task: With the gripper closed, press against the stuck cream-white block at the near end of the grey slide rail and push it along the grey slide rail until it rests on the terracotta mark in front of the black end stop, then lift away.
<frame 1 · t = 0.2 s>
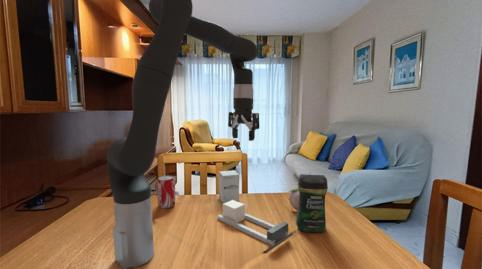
hand: (243, 139, 98), 28 cm above the table, tool pointing down, fingers open, 8 cm apart
decorative fruit: (301, 212, 99), on the table
coffee jar: (310, 228, 86), on the table
jammed block: (233, 211, 90), point 4 cm above the table, slide at 0.0 cm
soda can: (166, 206, 105), on the table
supplement box: (229, 201, 110), on the table
grey slide rail: (250, 229, 85), on the table
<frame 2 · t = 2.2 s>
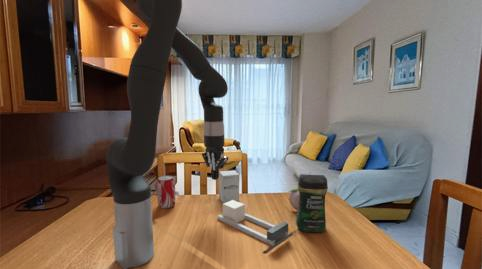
hand: (215, 179, 96), 14 cm above the table, tool pointing down, fingers closed
nothing on the table moved.
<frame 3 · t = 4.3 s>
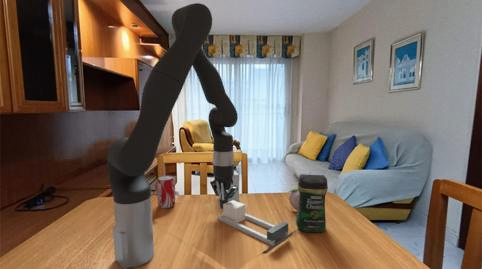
hand: (223, 208, 94), 4 cm above the table, tool pointing down, fingers closed
jammed block: (234, 211, 90), point 4 cm above the table, slide at 0.2 cm, touching gripper
everything else where it was.
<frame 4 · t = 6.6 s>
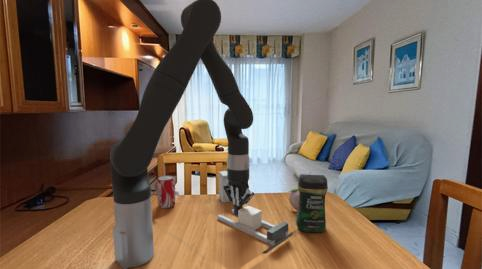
hand: (238, 214, 89), 4 cm above the table, tool pointing down, fingers closed
jammed block: (249, 218, 85), point 4 cm above the table, slide at 7.6 cm, touching gripper
everything else where it was.
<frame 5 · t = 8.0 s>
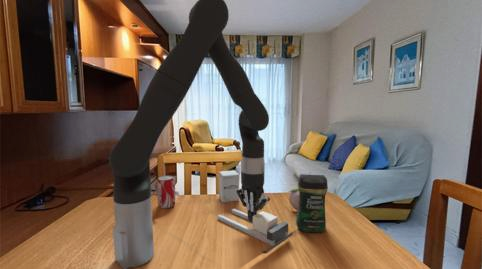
hand: (252, 220, 84), 4 cm above the table, tool pointing down, fingers closed
jammed block: (265, 224, 81), point 4 cm above the table, slide at 14.1 cm, touching gripper
everything else where it was.
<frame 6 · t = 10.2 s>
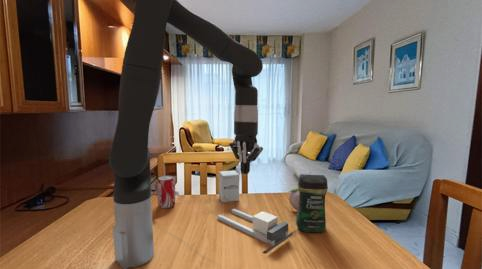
hand: (245, 173, 82), 20 cm above the table, tool pointing down, fingers closed
jammed block: (265, 224, 81), point 4 cm above the table, slide at 14.0 cm
everything else where it was.
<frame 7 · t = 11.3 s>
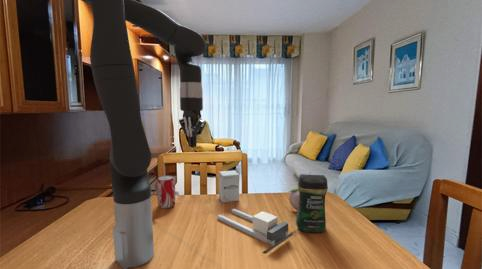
hand: (192, 147, 88), 27 cm above the table, tool pointing down, fingers closed
nothing on the table moved.
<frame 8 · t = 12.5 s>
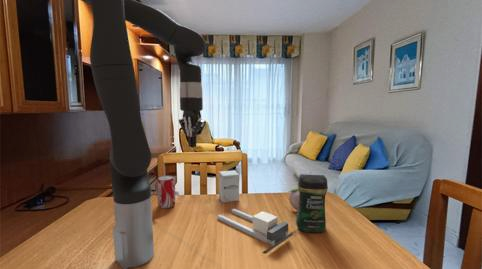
hand: (192, 146, 88), 27 cm above the table, tool pointing down, fingers closed
nothing on the table moved.
at the end: jammed block slide at 14.0 cm; the gripper is holding nothing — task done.
